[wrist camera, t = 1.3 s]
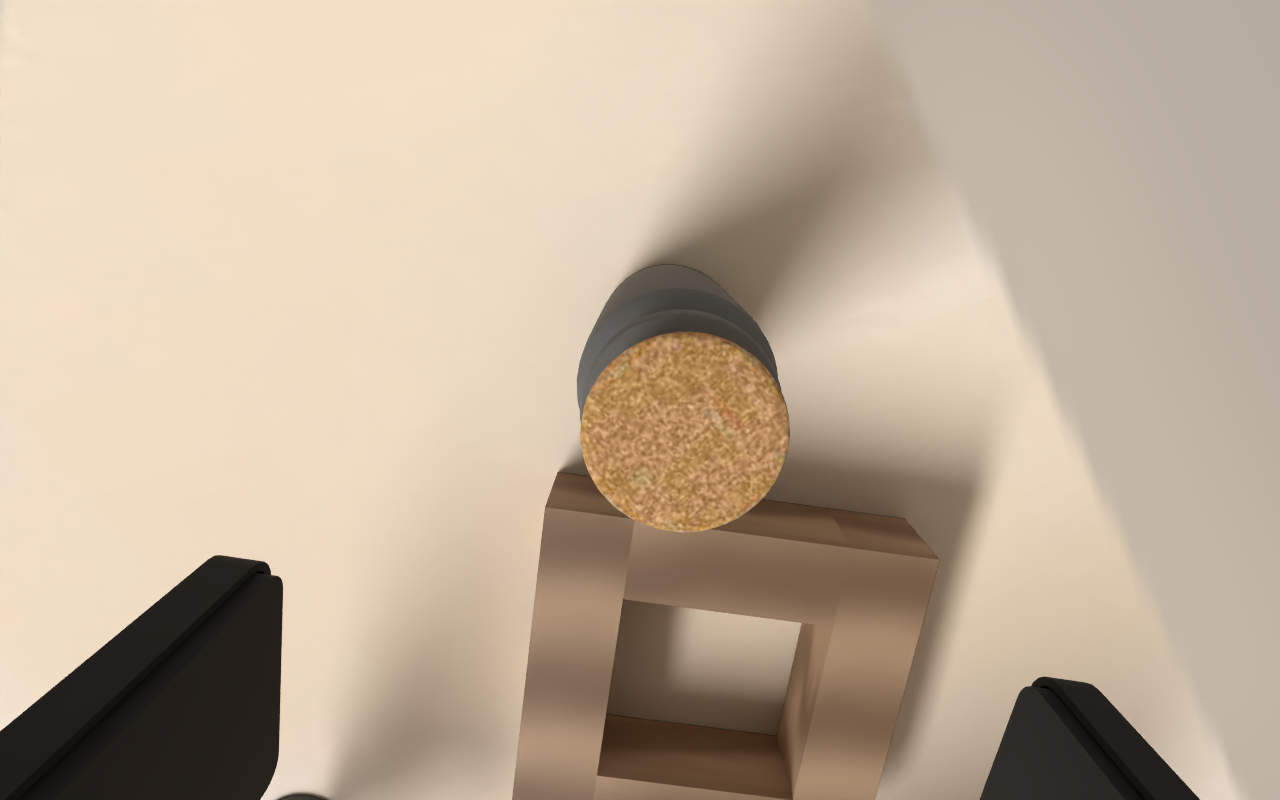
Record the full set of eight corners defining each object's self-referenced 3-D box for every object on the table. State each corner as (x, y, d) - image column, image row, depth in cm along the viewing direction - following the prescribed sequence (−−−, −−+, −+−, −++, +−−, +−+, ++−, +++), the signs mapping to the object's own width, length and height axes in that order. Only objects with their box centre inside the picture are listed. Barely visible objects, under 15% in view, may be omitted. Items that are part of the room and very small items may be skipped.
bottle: (577, 298, 30) (509, 373, 15) (704, 240, 29) (758, 261, 15) (634, 418, 31) (621, 593, 17) (756, 365, 31) (854, 499, 16)
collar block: (557, 471, 32) (545, 507, 28) (904, 518, 32) (939, 560, 28) (523, 764, 36) (508, 831, 32) (832, 803, 36) (854, 873, 32)
